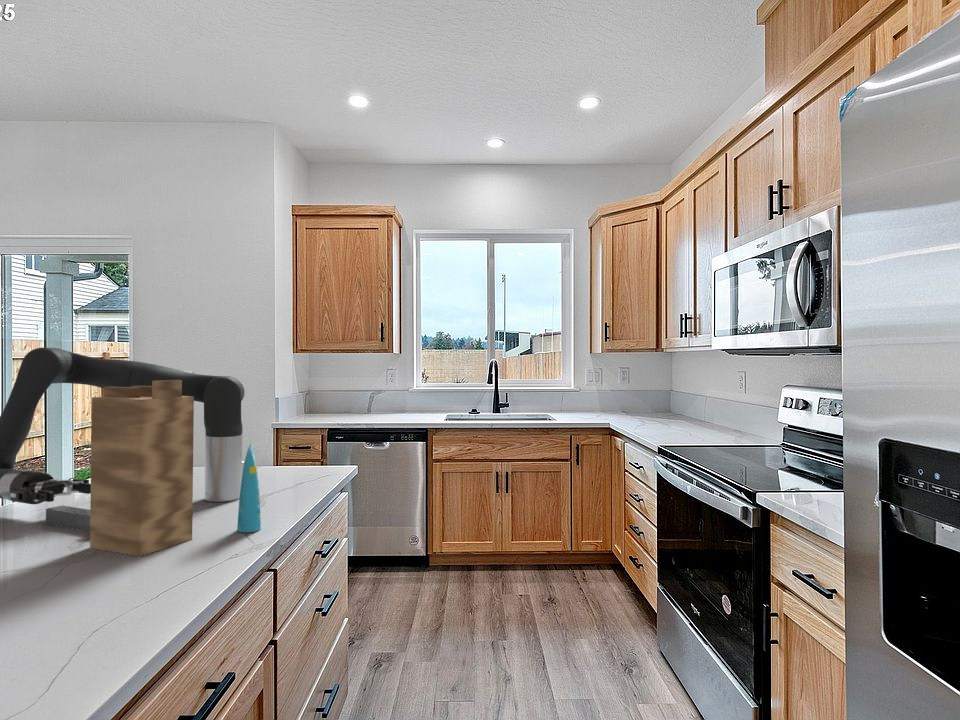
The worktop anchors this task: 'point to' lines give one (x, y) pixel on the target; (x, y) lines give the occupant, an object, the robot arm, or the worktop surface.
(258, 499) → the tube
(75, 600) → the worktop surface
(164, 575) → the worktop surface
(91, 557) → the worktop surface
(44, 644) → the worktop surface
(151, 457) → the post
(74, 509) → the grey long block
